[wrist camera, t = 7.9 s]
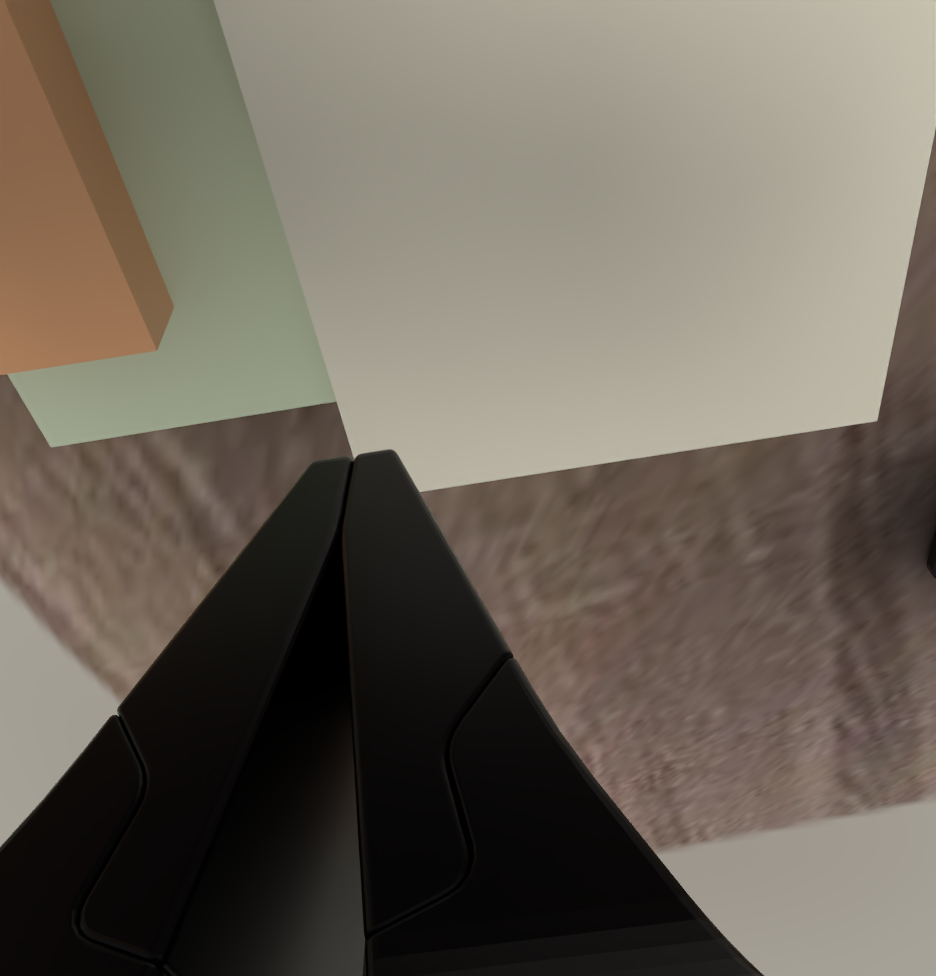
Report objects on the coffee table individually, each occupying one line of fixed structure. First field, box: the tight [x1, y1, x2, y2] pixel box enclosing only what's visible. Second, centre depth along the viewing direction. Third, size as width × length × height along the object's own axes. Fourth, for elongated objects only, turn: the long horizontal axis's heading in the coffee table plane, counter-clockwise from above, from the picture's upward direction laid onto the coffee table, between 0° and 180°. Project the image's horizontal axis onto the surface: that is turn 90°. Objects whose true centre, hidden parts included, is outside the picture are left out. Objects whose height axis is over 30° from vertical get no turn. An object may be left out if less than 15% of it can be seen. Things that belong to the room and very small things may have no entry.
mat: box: [7, 0, 336, 447], centre depth 19 cm, size 15×8×1 cm, turn 8°
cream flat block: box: [214, 0, 936, 492], centre depth 17 cm, size 16×12×4 cm
